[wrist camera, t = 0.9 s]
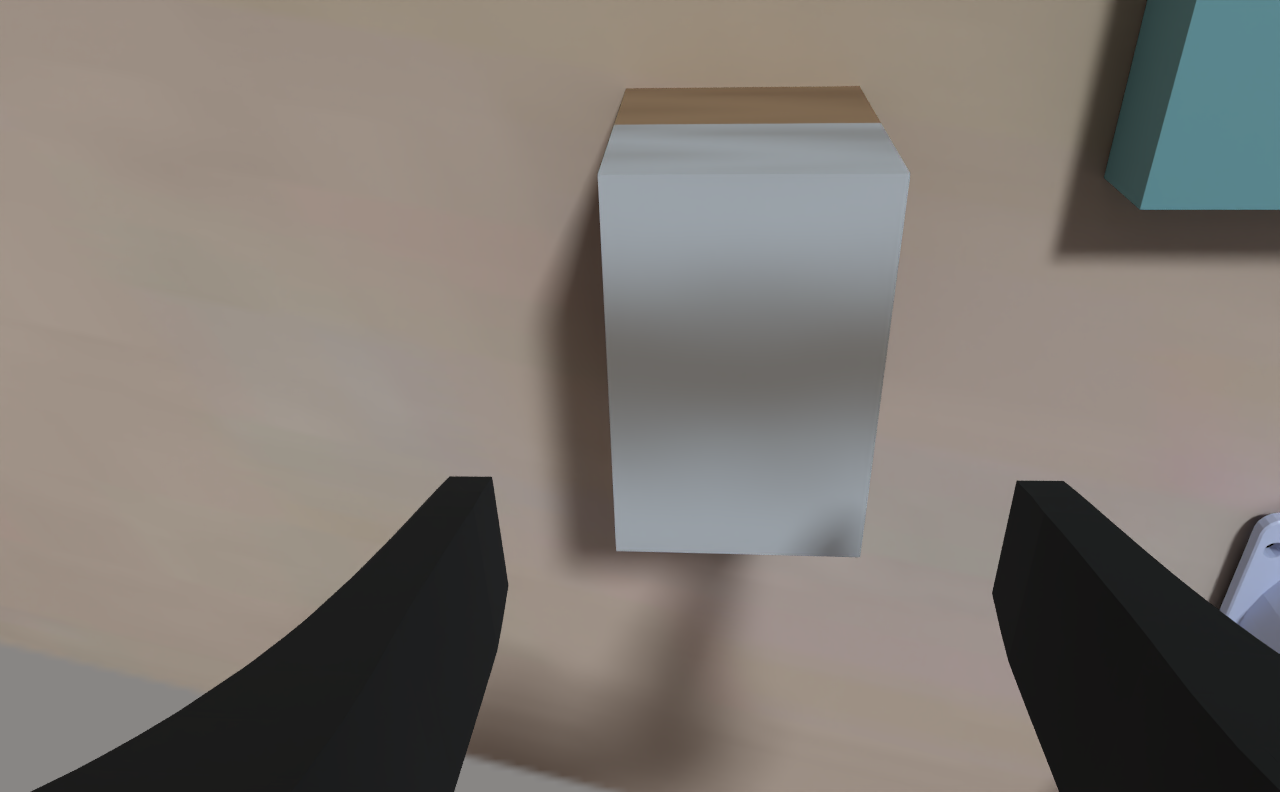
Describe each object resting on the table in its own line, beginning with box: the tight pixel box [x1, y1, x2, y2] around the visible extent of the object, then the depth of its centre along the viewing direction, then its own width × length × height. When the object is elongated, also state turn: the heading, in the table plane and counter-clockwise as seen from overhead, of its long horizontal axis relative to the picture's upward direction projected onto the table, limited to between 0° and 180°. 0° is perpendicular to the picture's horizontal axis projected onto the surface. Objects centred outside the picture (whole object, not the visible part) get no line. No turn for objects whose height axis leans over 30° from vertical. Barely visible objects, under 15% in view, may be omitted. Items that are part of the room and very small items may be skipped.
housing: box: [598, 86, 910, 557], centre depth 19 cm, size 8×5×6 cm, turn 1°
